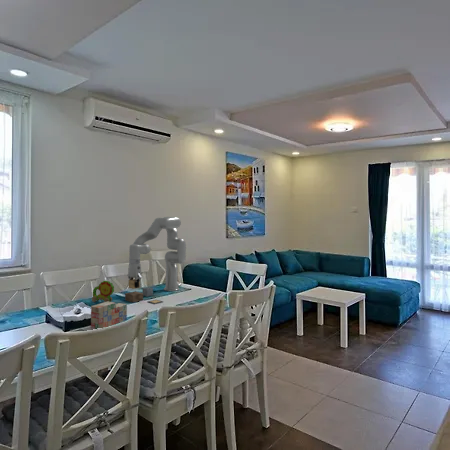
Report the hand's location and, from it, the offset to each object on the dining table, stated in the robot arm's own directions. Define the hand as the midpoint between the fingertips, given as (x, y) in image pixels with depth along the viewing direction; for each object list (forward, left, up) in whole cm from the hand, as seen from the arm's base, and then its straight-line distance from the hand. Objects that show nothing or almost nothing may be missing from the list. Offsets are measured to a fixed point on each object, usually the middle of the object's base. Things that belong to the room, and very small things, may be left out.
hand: (134, 286), depth 258 cm
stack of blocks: (+42, +34, -10) cm, 55 cm away
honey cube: (0, 0, -1) cm, 1 cm away
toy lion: (+18, -11, -10) cm, 23 cm away
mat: (-7, +15, -10) cm, 19 cm away
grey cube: (-16, -5, -10) cm, 20 cm away
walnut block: (0, 0, -10) cm, 10 cm away
